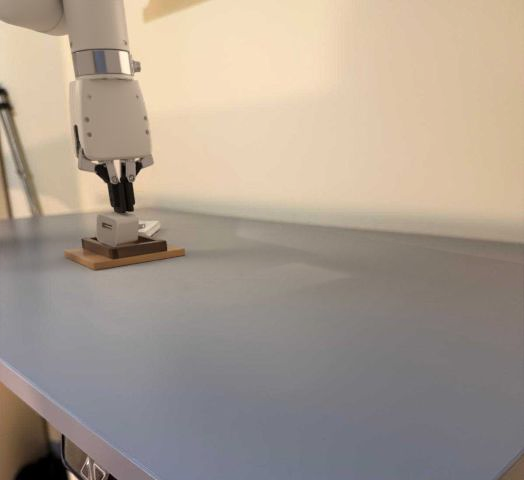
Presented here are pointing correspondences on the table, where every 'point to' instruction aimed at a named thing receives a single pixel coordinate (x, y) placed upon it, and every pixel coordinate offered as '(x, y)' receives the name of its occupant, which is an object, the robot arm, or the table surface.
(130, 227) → the usb wall charger
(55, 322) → the table surface
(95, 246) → the wooden tray
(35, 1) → the robot arm
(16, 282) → the table surface
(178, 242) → the table surface
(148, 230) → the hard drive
